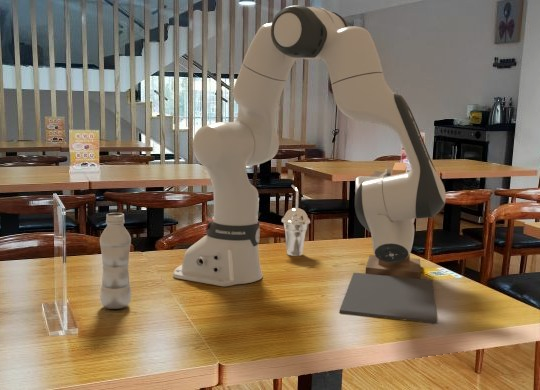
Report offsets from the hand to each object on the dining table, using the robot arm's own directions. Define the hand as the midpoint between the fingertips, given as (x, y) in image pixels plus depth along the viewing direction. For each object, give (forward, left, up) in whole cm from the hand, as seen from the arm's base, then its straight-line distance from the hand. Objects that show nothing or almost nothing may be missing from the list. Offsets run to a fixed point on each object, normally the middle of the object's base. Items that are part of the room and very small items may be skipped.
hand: (399, 172), depth 146 cm
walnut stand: (0, +10, -28) cm, 30 cm away
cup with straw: (-29, +18, -28) cm, 44 cm away
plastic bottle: (-56, -40, -28) cm, 74 cm away
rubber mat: (0, -13, -28) cm, 31 cm away
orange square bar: (0, +5, -2) cm, 5 cm away
